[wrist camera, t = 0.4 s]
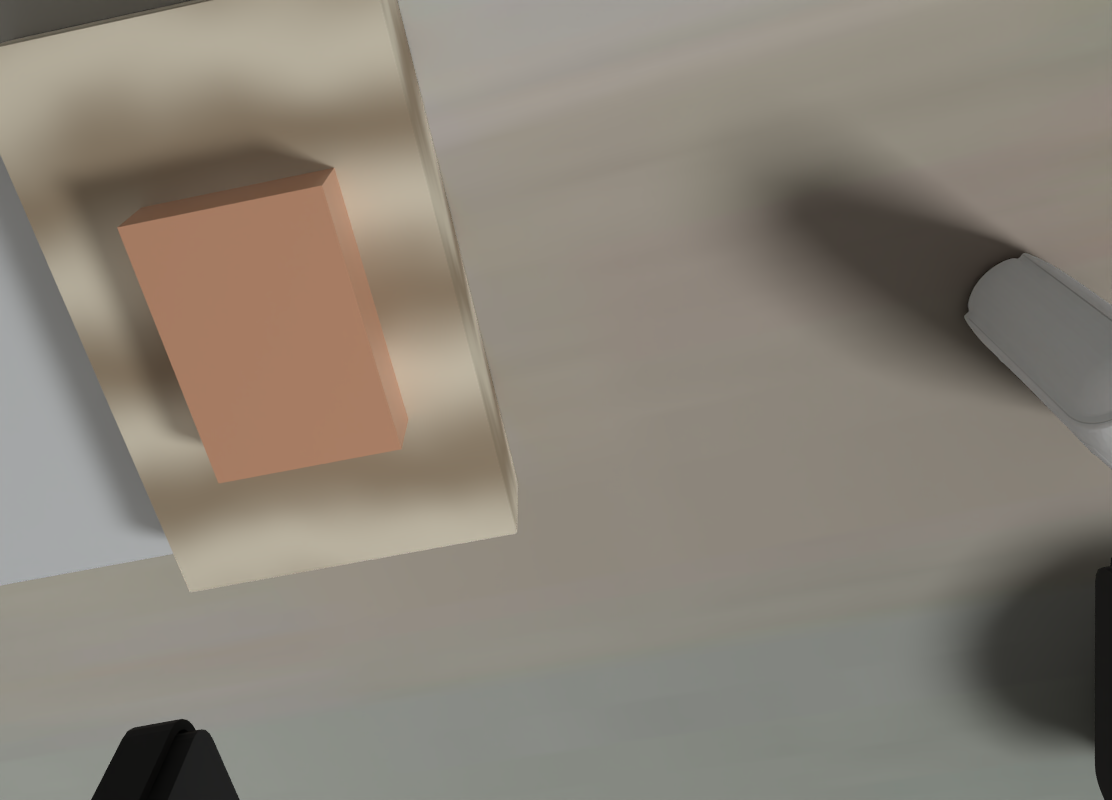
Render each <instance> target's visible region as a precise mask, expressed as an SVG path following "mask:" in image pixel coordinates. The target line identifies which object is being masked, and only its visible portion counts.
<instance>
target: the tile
mask: <svg viewBox="0 0 1112 800" xmlns="http://www.w3.org/2000/svg"><path fill="white" fill-rule="evenodd" d="M117 229H118V231H119V234H120V236H121V239H122V241H123V244H124V246H125V249H126V251H127V254H128V256H129V259H130V261H131V264H132V266H133V269H134V271H135V274H136V277H137V279H138V282H139V284H140V287H141V289H142V292H143V294H144V297H145V299H146V302H147V304H148V307H149V309H150V312H151V314H152V317H153V319H154V322H155V324H156V327H157V329H158V332H159V335H160V337H161V340H162V342H163V345H164V347H165V350H166V352H167V355H168V357H169V360H170V362H171V365H172V367H173V370H174V372H175V375H176V377H177V380H178V382H179V385H180V388H181V390H182V393H183V395H184V398H185V400H186V403H187V405H188V408H189V410H190V413H191V415H192V418H193V420H194V423H195V425H196V428H197V430H198V433H199V435H200V438H201V440H202V443H203V446H204V448H205V451H206V453H207V456H208V458H209V461H210V463H211V466H212V468H213V471H214V473H215V476H216V478H217V481H218V483H224V482H230V481H235V480H240V479H246V478H251V477H256V476H262V475H267V474H272V473H278V472H283V471H288V470H294V469H299V468H304V467H310V466H315V465H320V464H326V463H331V462H336V461H342V460H347V459H352V458H358V457H363V456H368V455H374V454H379V453H384V452H390V451H395V450H400V449H402V446H403V441H404V437H405V432H406V428H407V424H408V416H407V413H406V409H405V406H404V403H403V399H402V396H401V392H400V389H399V386H398V382H397V379H396V375H395V372H394V369H393V365H392V362H391V358H390V355H389V352H388V348H387V345H386V341H385V338H384V335H383V331H382V328H381V324H380V321H379V318H378V314H377V311H376V307H375V304H374V301H373V297H372V294H371V290H370V287H369V284H368V280H367V277H366V273H365V270H364V267H363V263H362V260H361V256H360V253H359V250H358V246H357V243H356V239H355V236H354V233H353V229H352V226H351V222H350V219H349V216H348V212H347V209H346V205H345V202H344V199H343V195H342V192H341V188H340V185H339V182H338V178H337V175H336V171H335V168H330V169H325V170H320V171H315V172H311V173H306V174H301V175H296V176H291V177H286V178H282V179H277V180H272V181H267V182H262V183H257V184H253V185H248V186H243V187H238V188H233V189H228V190H223V191H219V192H214V193H209V194H204V195H199V196H194V197H190V198H185V199H180V200H175V201H170V202H165V203H161V204H156V205H151V206H146V207H141V208H140V209H139V210H138V211H136V212H135V213H134V214H133V215H132V216H130V217H129V218H128V219H127V220H126V221H124V222H123V223H122V224H121V225H120V226H118V227H117Z"/></svg>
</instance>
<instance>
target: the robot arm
mask: <svg viewBox="0 0 1112 800" xmlns="http://www.w3.org/2000/svg"><path fill="white" fill-rule="evenodd" d="M1095 770H1096V776H1097V781H1098V784H1099V787H1100V790H1101V793H1102V795H1103V797H1104V800H1112V558H1111V565H1110V566H1108V567H1103V568H1100V569H1098V572H1097V574H1096V581H1095ZM91 800H239V798H238V795H237V793H236V791H235V788H234V786H233V784H232V782H231V779H230V777H229V775H228V773H227V770H226V768H225V766H224V763H223V761H222V759H221V757H220V754H219V752H218V750H217V748H216V745H215V743H214V741H213V739H212V737H211V735H210V734H209V733H208V732H207V731H206V730H195V728H194V726H193V725H192V724H191V723H190V722H189V721H188V720H184V719H179V720H174V721H168V722H163V723H157V724H151V725H146V726H140V727H135V728H132V729H131V730H129V731H128V732H127V733H126V734H125V736H124V737H123V739H122V741H121V743H120V745H119V746H118V748H117V750H116V752H115V754H114V756H113V758H112V760H111V762H110V764H109V766H108V768H107V770H106V772H105V774H104V776H103V778H102V780H101V782H100V784H99V786H98V787H97V789H96V791H95V793H94V795H93V797H92V799H91Z"/></svg>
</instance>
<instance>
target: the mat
mask: <svg viewBox="0 0 1112 800" xmlns="http://www.w3.org/2000/svg"><path fill="white" fill-rule="evenodd" d="M169 554H173V552H172V549H171V547H170V545H169V543H168V540H167V538H166V536H165V533H164V531H163V529H162V526H161V524H160V522H159V519H158V517H157V515H156V513H155V510H154V508H153V506H152V503H151V501H150V499H149V496H148V494H147V492H146V489H145V487H144V485H143V483H142V480H141V478H140V476H139V473H138V471H137V469H136V466H135V464H134V462H133V459H132V457H131V455H130V453H129V450H128V448H127V446H126V443H125V441H124V439H123V436H122V434H121V432H120V429H119V427H118V425H117V423H116V420H115V418H114V416H113V413H112V411H111V409H110V406H109V404H108V402H107V399H106V397H105V395H104V393H103V390H102V388H101V386H100V383H99V381H98V379H97V376H96V374H95V372H94V370H93V367H92V365H91V363H90V360H89V358H88V356H87V353H86V351H85V349H84V346H83V344H82V342H81V340H80V337H79V335H78V333H77V330H76V328H75V326H74V323H73V321H72V319H71V316H70V314H69V312H68V310H67V307H66V305H65V303H64V300H63V298H62V296H61V293H60V291H59V289H58V286H57V284H56V282H55V280H54V277H53V275H52V273H51V270H50V268H49V266H48V263H47V261H46V259H45V256H44V254H43V252H42V250H41V247H40V245H39V243H38V240H37V238H36V236H35V233H34V231H33V229H32V226H31V224H30V222H29V220H28V217H27V215H26V213H25V210H24V208H23V206H22V203H21V201H20V199H19V196H18V194H17V192H16V190H15V187H14V185H13V183H12V180H11V178H10V176H9V173H8V171H7V169H6V166H5V164H4V162H3V160H2V157H1V155H0V585H5V584H11V583H16V582H22V581H27V580H33V579H38V578H44V577H49V576H54V575H60V574H65V573H71V572H76V571H82V570H87V569H93V568H98V567H104V566H109V565H114V564H120V563H125V562H131V561H136V560H142V559H147V558H153V557H158V556H164V555H169Z"/></svg>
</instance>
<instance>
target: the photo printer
mask: <svg viewBox="0 0 1112 800" xmlns="http://www.w3.org/2000/svg"><path fill="white" fill-rule="evenodd" d="M968 309H969V312H968V313H967V314H966V315H965V316H964V318H965V320H966V322H967V323H968V325H969V326H970V328H971V329H972V330H973V332H974V333H975V334H976V336H977V337H978V338H979V339H980V340H981V341H982V342H983V343H984V344H985V346H987V347H988V348H989V349H990V350H991V351H992V352H993V353H994V354H995V355H996V356H997V357H998V358H999V360H1000V361H1001V362H1003V363H1004V364H1005V365H1006V366H1007V367H1008V368H1009V369H1010V370H1011V371H1012V372H1013V373H1014V374H1015V375H1016V376H1017V377H1018V378H1019V379H1020V380H1021V381H1022V382H1023V383H1024V384H1025V385H1026V386H1027V387H1028V388H1029V389H1030V390H1031V391H1032V392H1033V393H1034V394H1035V395H1036V396H1037V397H1038V398H1039V399H1040V400H1041V401H1042V402H1043V403H1044V404H1045V405H1046V406H1047V407H1048V408H1049V409H1050V410H1051V411H1052V412H1053V413H1054V414H1055V415H1056V416H1057V417H1058V418H1059V419H1060V420H1061V421H1062V422H1063V423H1064V424H1065V425H1066V426H1067V427H1068V428H1069V429H1070V430H1071V432H1072V433H1073V434H1074V435H1075V436H1076V437H1077V438H1078V439H1079V440H1080V441H1081V442H1082V443H1083V444H1084V445H1085V446H1086V447H1087V448H1088V449H1089V450H1090V451H1091V452H1092V453H1093V454H1094V455H1096V456H1097V457H1098V458H1099V459H1101V460H1102V461H1103V462H1104V463H1105V464H1106V465H1107V466H1108V467H1109V468H1111V469H1112V305H1111V304H1109V303H1108V302H1106V301H1105V300H1104V299H1102V298H1101V297H1099V296H1098V295H1096V294H1095V293H1094V292H1092V291H1091V290H1089V289H1088V288H1087V287H1085V286H1084V285H1082V284H1081V283H1079V282H1078V281H1076V280H1075V279H1073V278H1072V277H1070V276H1069V275H1067V274H1066V273H1064V272H1063V271H1061V270H1060V269H1058V268H1056V267H1055V266H1053V265H1051V264H1049V263H1047V262H1045V261H1043V260H1041V259H1039V258H1037V257H1035V256H1032V255H1030V254H1027V253H1023V254H1022V255H1021V256H1020V258H1018V259H1017V258H1011V259H1008V260H1005V261H1003V262H1001V263H999V264H997V265H996V266H994V267H993V268H991V269H990V270H989V271H988V272H986V273H985V274H984V275H983V276H982V278H981V279H980V280H979V281H978V282H977V284H976V285H975V287H974V289H973V291H972V293H971V295H970V298H969V302H968Z"/></svg>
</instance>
